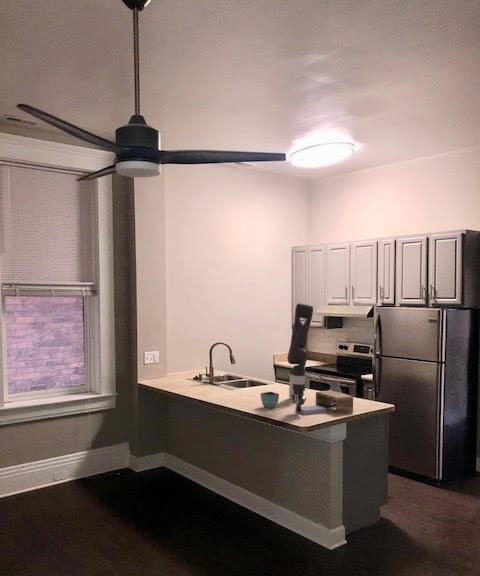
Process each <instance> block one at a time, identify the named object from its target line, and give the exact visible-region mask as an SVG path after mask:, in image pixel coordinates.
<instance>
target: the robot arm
mask: <svg viewBox="0 0 480 576" xmlns="http://www.w3.org/2000/svg"><path fill="white" fill-rule="evenodd" d="M294 312H295V313H294V322H293V326H292V327H293V328H292V331H291V332H292V333H291V339H290V346H289V349H288V353H287V363H288V364H289V365H293V367H292V368H291V369H290V370H289V385H288V387H289V389H288V391H289V392H288V393H289V395H288V399H289V400H291V401H293V404H295V406H296V411H297V412H296V413H298V412H300V411H301V407H302V406H303V405H304V404H305V403H306V400H307V397H305V393H304V392H305V391H306V377H305V374H306V363H307V361H308V357H309V354H308V351H307V350H306V349H304V348H306V347H307V343H308V334H309V331H310V330H309V329H310V328H311V327H310V326H311V323H312V319H313V314H314V306H313V304H309V303H299V302H298V303H297V304H296V306H295V311H294ZM301 319H306V321H305V322H304V324H303V323H302V320H301Z"/></svg>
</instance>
